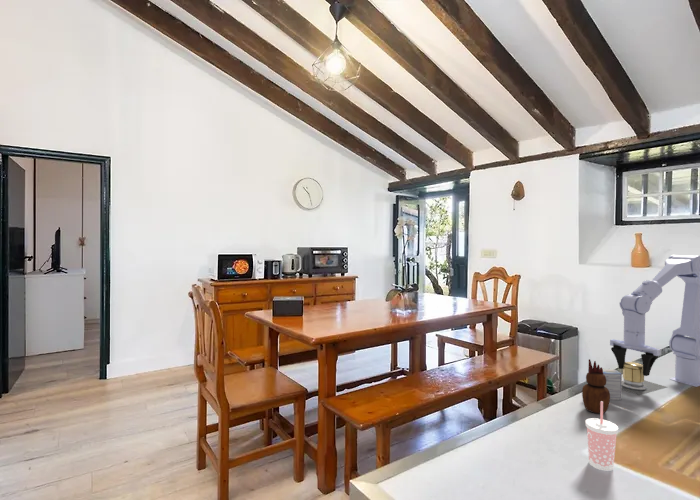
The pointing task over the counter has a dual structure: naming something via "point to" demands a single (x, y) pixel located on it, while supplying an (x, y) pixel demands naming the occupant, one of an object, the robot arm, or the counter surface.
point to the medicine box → (613, 383)
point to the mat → (650, 388)
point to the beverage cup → (601, 442)
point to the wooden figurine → (595, 390)
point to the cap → (633, 372)
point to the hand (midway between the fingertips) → (633, 371)
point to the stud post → (634, 385)
